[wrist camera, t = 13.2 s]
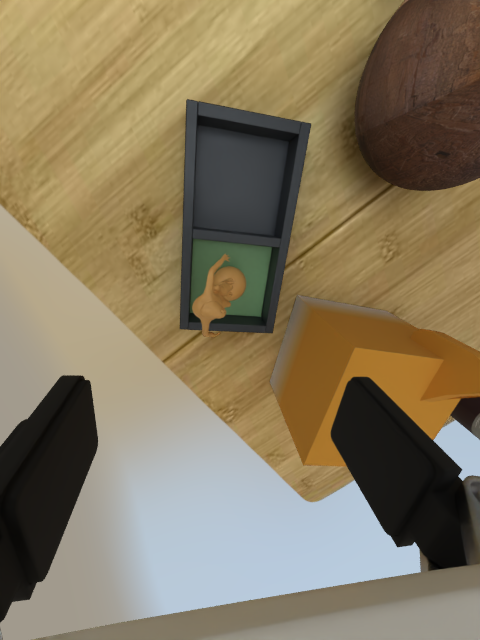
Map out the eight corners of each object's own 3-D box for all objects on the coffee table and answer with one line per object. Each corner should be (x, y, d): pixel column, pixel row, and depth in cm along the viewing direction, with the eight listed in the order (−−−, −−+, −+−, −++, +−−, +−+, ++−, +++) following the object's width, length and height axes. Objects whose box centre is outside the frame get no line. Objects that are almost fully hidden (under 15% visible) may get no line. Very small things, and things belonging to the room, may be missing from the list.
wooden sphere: (456, 166, 31) (654, 136, 18) (340, 213, 31) (447, 218, 18) (458, -5, 25) (771, -257, 11) (312, 56, 25) (447, -120, 11)
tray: (181, 317, 34) (179, 329, 31) (188, 112, 25) (186, 98, 22) (265, 321, 36) (272, 333, 33) (298, 133, 27) (311, 123, 24)
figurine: (238, 311, 34) (257, 361, 23) (192, 307, 33) (188, 358, 22) (248, 247, 31) (275, 269, 20) (197, 240, 30) (195, 260, 19)
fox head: (377, 400, 45) (496, 529, 27) (266, 390, 41) (320, 537, 23) (426, 306, 39) (625, 394, 21) (300, 282, 34) (414, 367, 16)
